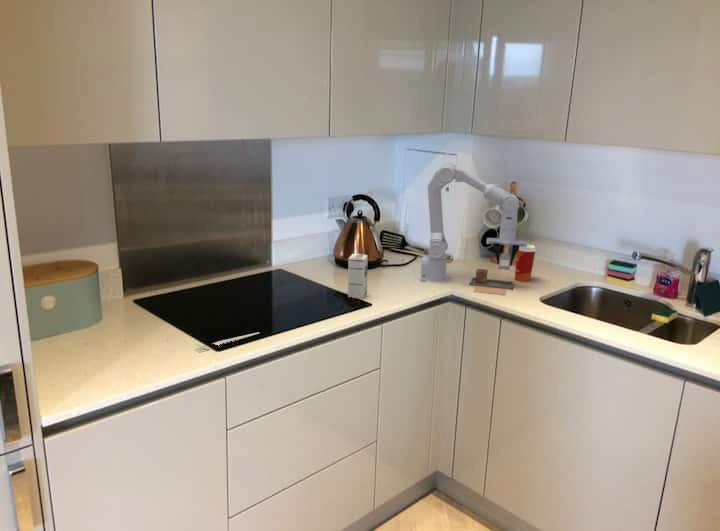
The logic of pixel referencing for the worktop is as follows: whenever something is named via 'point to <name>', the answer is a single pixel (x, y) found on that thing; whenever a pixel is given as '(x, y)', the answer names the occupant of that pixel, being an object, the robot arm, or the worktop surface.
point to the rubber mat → (490, 290)
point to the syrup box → (357, 275)
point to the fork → (227, 340)
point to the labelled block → (504, 261)
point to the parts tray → (494, 284)
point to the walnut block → (481, 276)
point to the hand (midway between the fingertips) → (504, 264)
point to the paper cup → (524, 263)
